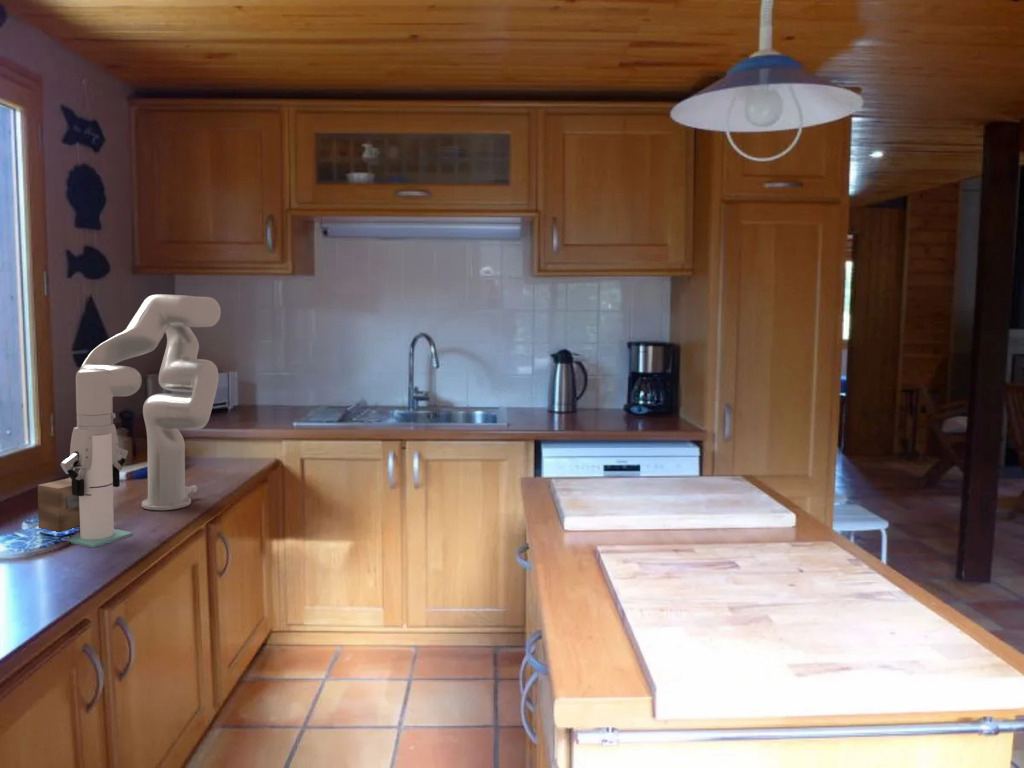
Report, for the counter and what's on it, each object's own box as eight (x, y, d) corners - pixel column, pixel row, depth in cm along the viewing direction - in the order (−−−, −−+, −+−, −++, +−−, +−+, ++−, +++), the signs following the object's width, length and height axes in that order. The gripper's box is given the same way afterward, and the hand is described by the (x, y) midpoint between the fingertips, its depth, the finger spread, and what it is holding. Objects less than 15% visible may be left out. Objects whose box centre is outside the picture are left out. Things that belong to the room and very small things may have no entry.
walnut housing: (81, 520, 191) (80, 474, 190) (104, 524, 189) (103, 478, 187) (37, 532, 180) (35, 484, 179) (60, 537, 177) (59, 488, 176)
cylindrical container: (112, 538, 177) (109, 435, 174) (77, 540, 174) (74, 436, 171) (115, 529, 183) (113, 430, 181) (83, 531, 181) (80, 431, 178)
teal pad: (100, 528, 186) (100, 525, 186) (132, 534, 182) (132, 532, 182) (59, 540, 175) (59, 538, 175) (93, 547, 172) (93, 545, 172)
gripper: (114, 414, 185) (115, 481, 187) (49, 424, 169) (51, 496, 171) (137, 417, 182) (138, 484, 184) (73, 427, 166) (75, 501, 168)
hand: (96, 490), depth 178 cm, fingers open, 9 cm apart
